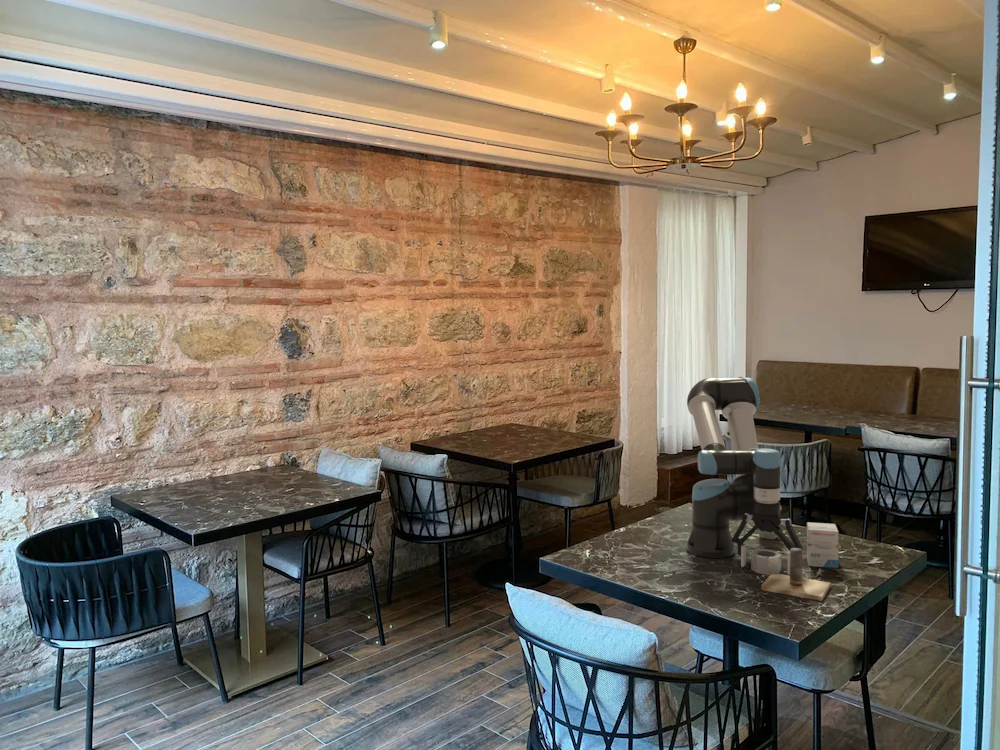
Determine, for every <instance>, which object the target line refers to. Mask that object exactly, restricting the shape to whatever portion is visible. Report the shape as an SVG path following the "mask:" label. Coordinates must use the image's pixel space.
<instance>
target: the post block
mask: <svg viewBox="0 0 1000 750" xmlns="http://www.w3.org/2000/svg"><path fill="white" fill-rule="evenodd" d="M803 554H804V553H803V549H800V548H791V549H790V575H787V574H781V573H779V574H777V573H772V574H771V575H768V576H767V578H766V579H765V580H764V582H763V583H762V584H761V588H760V589H761V591H765V592H770V593H771V592H772V593H778V594H781V595H782V594H783V595H788V596H792V597H799V598H804V599H810V600H813V601H821V602H823V600H824V599H825V598H826V595H827V594H828V593H829V590H830V589H831V586H832V585H831V582H828V581H821V580H816V579H810V578H805V577H803Z"/></svg>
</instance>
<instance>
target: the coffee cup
mask: <svg viewBox="0 0 1000 750" xmlns="http://www.w3.org/2000/svg"><path fill="white" fill-rule="evenodd" d="M780 511H782V505H780ZM758 535H759V538H761V539H764V538H765V539H766V540H775V539H777V538H778V536H777V535H776V534H775V533H774V532H767V531H760V530H759V529H758Z"/></svg>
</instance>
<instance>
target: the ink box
mask: <svg viewBox="0 0 1000 750" xmlns="http://www.w3.org/2000/svg"><path fill="white" fill-rule="evenodd" d="M839 532H840V531H839V530H838V527H837V525H836V523H828V522H827V523H824V522H809V521H808V522H806V560H807V565H808V567H817V568H830V569H831V568H832V569H839Z"/></svg>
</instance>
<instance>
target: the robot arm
mask: <svg viewBox="0 0 1000 750" xmlns="http://www.w3.org/2000/svg"><path fill="white" fill-rule="evenodd" d="M760 403H761V397H760V391H759V387H758V385H757V382H756V381H755V380H754V379H753V378H752V377H743V376H738V377H707V378H704V379H701V380H699V381H698V382H697V383H695V385H693V387H692V388H691V389H690V390H689V393H688V395H687V398H686V406H687V410H688V412H689V414H690V415H692V417H693V422H694V426H695V429H696V433H697V438H698V440H699V445H700V448H701V449H700V450H699V451H698V452H697V453H698V454H697V469H698V471H699V473H700V474H702V475H711V476H717V475H721V476H723V475H724V476H725V475H735V477H734V478H733V479H732V483H730V480H728V479H725V478H709V479H702V480H699V481H697V482H696V483H695V484H694V485H693V486H692V492H691V493H692V495H691V500H692V501H691V503H692V508H691V509H692V512H691V514H692V520H691V521H692V525H691V526H692V527H691V530H690V533H689V536H688V538H687V542H686V550H687V552H688V553H690V555H694V556H697V557H701V558H708V559H709V558H710V559H722V558H724V559H725V558H728V557H731V556H733V555H734V554H735V553H736V548H735V547H736V545H735V544H737V555H738V556H740V567H741V568H744V567H745V566H747V544H746V543H745V542H746V541H747V540H748V539H749V538H750V537H751V536H752V535H753V534H754V533H755V532H756V531H757V530H758V531H759V530H760V531H767V532H774V533H775V534H776V535H777V538H779V540H780V541H781V542H782V543H783V545H784V546H785V547H786V548H787V549H788V552H787V572H786V573H787V574H786V575H788V576H790V549H791V548H800V549H802V550H803V545H802V543H801V541H800V540H799V538H798V535H797V533H796V530H795V529H794V527H793V523H792V519H791V518H781V510H780V506H781V503H780V500H781V465H782V460H781V453H780V451H779V450H777V449H773V448H763V447H762V448H759V444H758V437H757V432H756V426H755V421H754V415H755V414H756V412H757V410H758V409H759V408H760ZM716 411H721V415H722V417H724V418H725V419H727V425H728V431H729V433H728V434H729V438H730V444H731V445H730V446H731V450H728V449H727V447H726V445H725V439H724V437H723V434H722V431H721V427H720V423H719V420H718V417H717V413H716ZM730 521H741V522H740V524H739V526H738V528H737V529H736V532H735V534H734V535H733V536H732V533H731V530H730ZM751 521H752V522H753V523H754V526H752V528H750V529H749V530H748V531H747V532H746V533H745V534H744V536H743V537H742V538H740V536H741V534H742V532H743V531H744V529H745V527H746V526H747V523H748V522H751ZM781 524H782V525H783V527H785V529H786V532H787V533H788V535H789V537H790V539H791V540H790V539H789V538H788V536H786V533H784V531H783V530H782V528H781V526H780V525H781Z"/></svg>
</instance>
